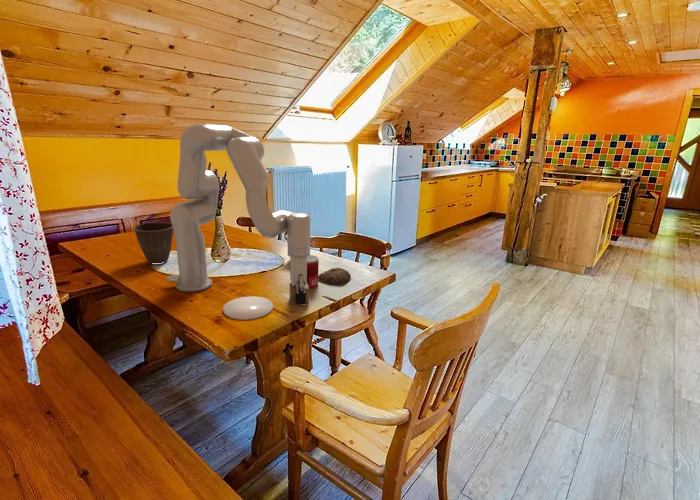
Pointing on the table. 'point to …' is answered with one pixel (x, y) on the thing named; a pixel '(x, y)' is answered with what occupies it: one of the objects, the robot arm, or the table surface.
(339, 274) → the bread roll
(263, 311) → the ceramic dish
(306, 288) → the walnut block
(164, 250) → the plant pot
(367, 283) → the table surface
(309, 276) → the canned food
